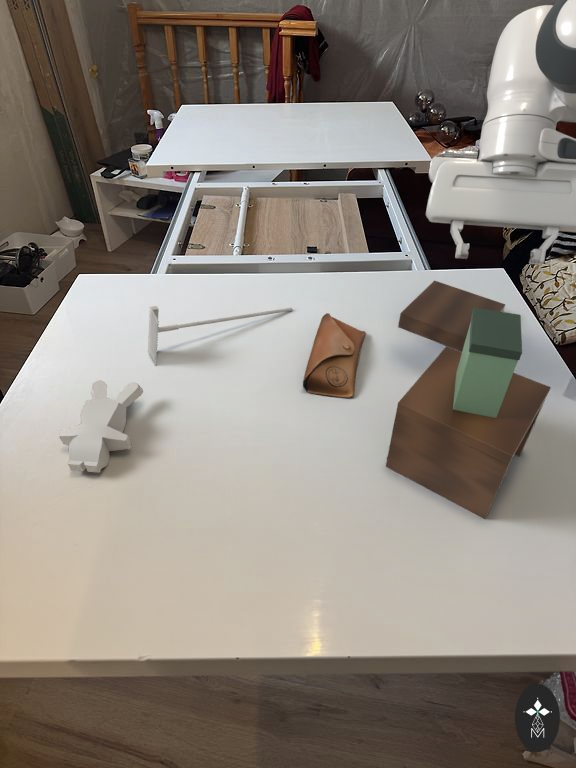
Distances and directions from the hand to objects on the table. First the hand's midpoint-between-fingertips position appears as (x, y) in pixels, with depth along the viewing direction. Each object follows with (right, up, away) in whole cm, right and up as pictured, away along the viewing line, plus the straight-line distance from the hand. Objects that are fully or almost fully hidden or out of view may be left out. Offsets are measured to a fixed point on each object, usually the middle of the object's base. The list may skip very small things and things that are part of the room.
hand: (498, 261), depth 70 cm
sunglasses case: (-20, -12, +19) cm, 30 cm away
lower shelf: (+2, -5, +27) cm, 28 cm away
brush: (-40, -8, +25) cm, 47 cm away
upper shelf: (-5, -27, +3) cm, 27 cm away
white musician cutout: (-54, -24, +6) cm, 59 cm away
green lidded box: (-5, -18, -5) cm, 19 cm away
